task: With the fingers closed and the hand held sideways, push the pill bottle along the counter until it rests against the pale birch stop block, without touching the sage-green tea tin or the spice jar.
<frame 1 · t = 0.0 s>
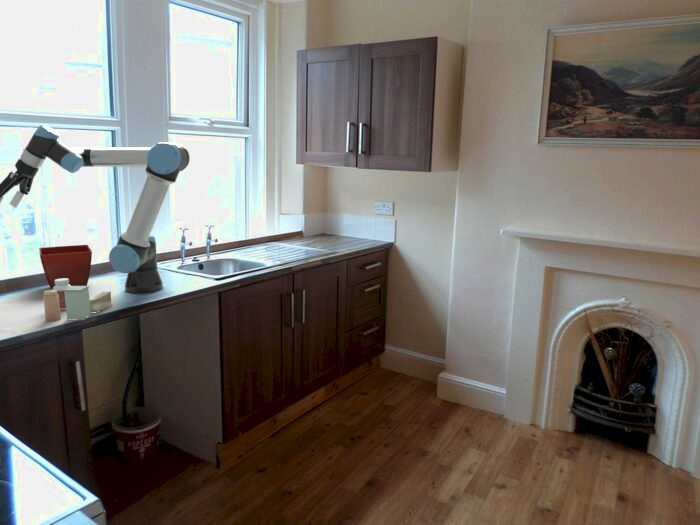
hand: (2, 207, 216), 36 cm above the countertop, tool tilted 35°, fingers open, 13 cm apart
stop block: (100, 308, 206), on the countertop
tea tin: (79, 317, 195), on the countertop
pill bottle: (64, 309, 206), on the countertop
plant pot: (69, 288, 237), on the countertop
spice jar: (53, 319, 193), on the countertop
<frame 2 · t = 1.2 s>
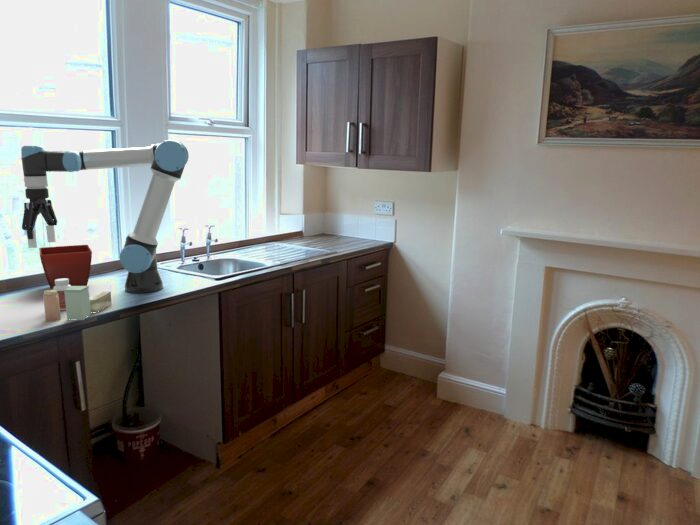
hand: (42, 244, 211), 22 cm above the countertop, tool pointing down, fingers open, 12 cm apart
nothing on the countertop moved.
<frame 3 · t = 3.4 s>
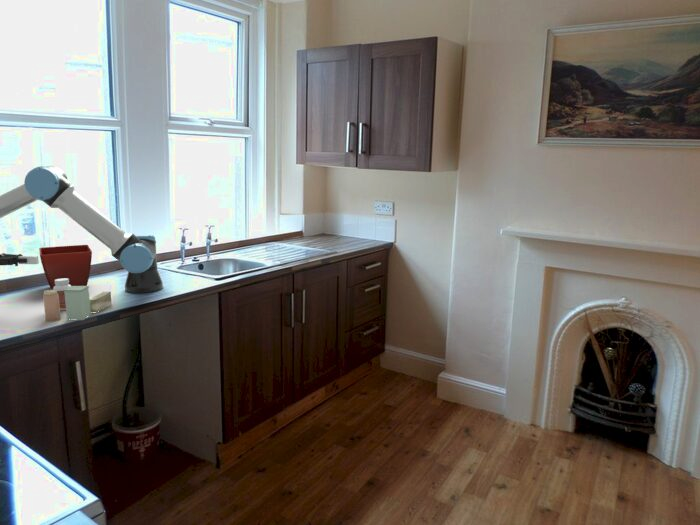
hand: (37, 260, 203), 18 cm above the countertop, tool horizontal, fingers closed
nothing on the countertop moved.
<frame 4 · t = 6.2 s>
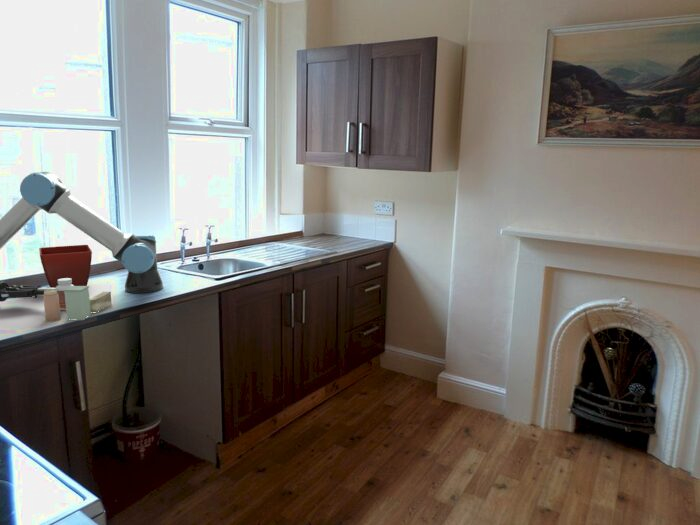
hand: (56, 291, 205), 6 cm above the countertop, tool horizontal, fingers closed
pill bottle: (67, 308, 206), on the countertop, touching gripper
everything else where it was.
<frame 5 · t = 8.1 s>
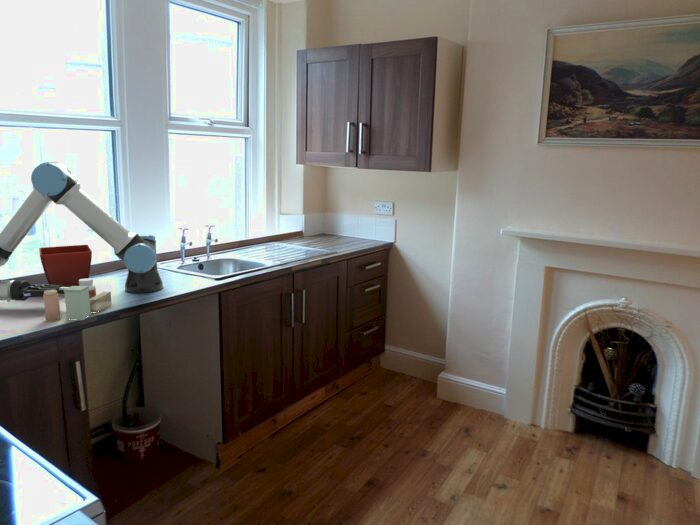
hand: (77, 291, 205), 7 cm above the countertop, tool horizontal, fingers closed
pill bottle: (88, 309, 206), on the countertop, touching gripper, stop block
everything else where it was.
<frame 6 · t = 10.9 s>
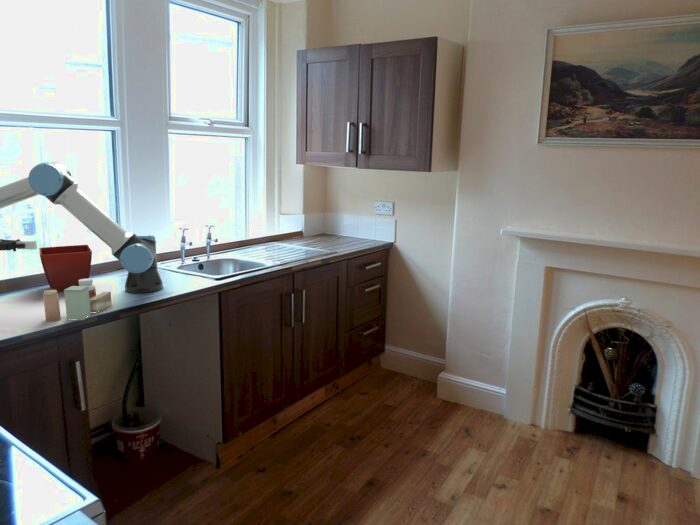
hand: (35, 245, 202), 24 cm above the countertop, tool horizontal, fingers closed
pill bottle: (88, 309, 206), on the countertop
everything else where it was.
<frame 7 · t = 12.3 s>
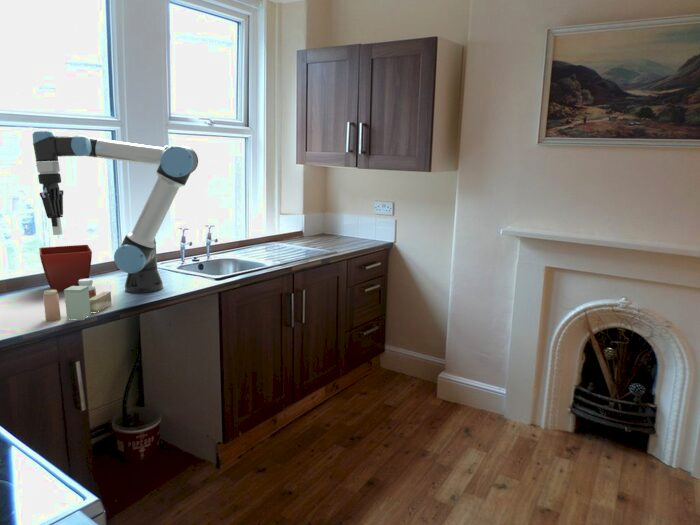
hand: (57, 234, 215), 26 cm above the countertop, tool pointing down, fingers closed
nothing on the countertop moved.
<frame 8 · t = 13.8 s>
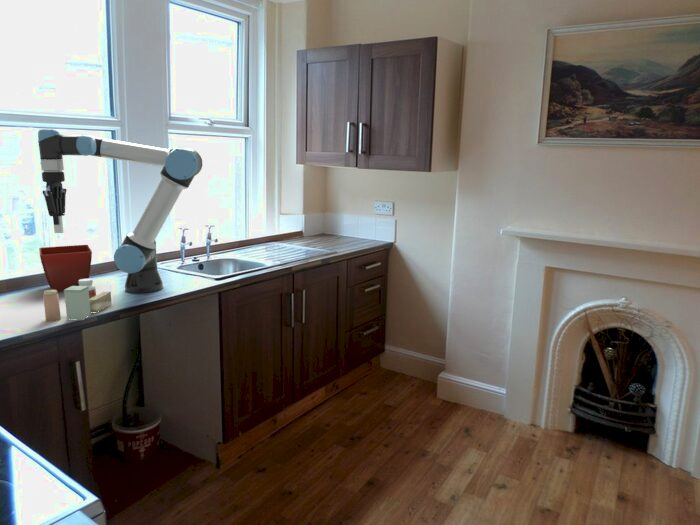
hand: (59, 232, 215), 26 cm above the countertop, tool pointing down, fingers closed
nothing on the countertop moved.
at the end: pill bottle inside the target area on the countertop beside the stop block (0.7 cm from its centre), on the countertop; pill bottle tilted 0°; tea tin moved 0.0 cm from its start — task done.
